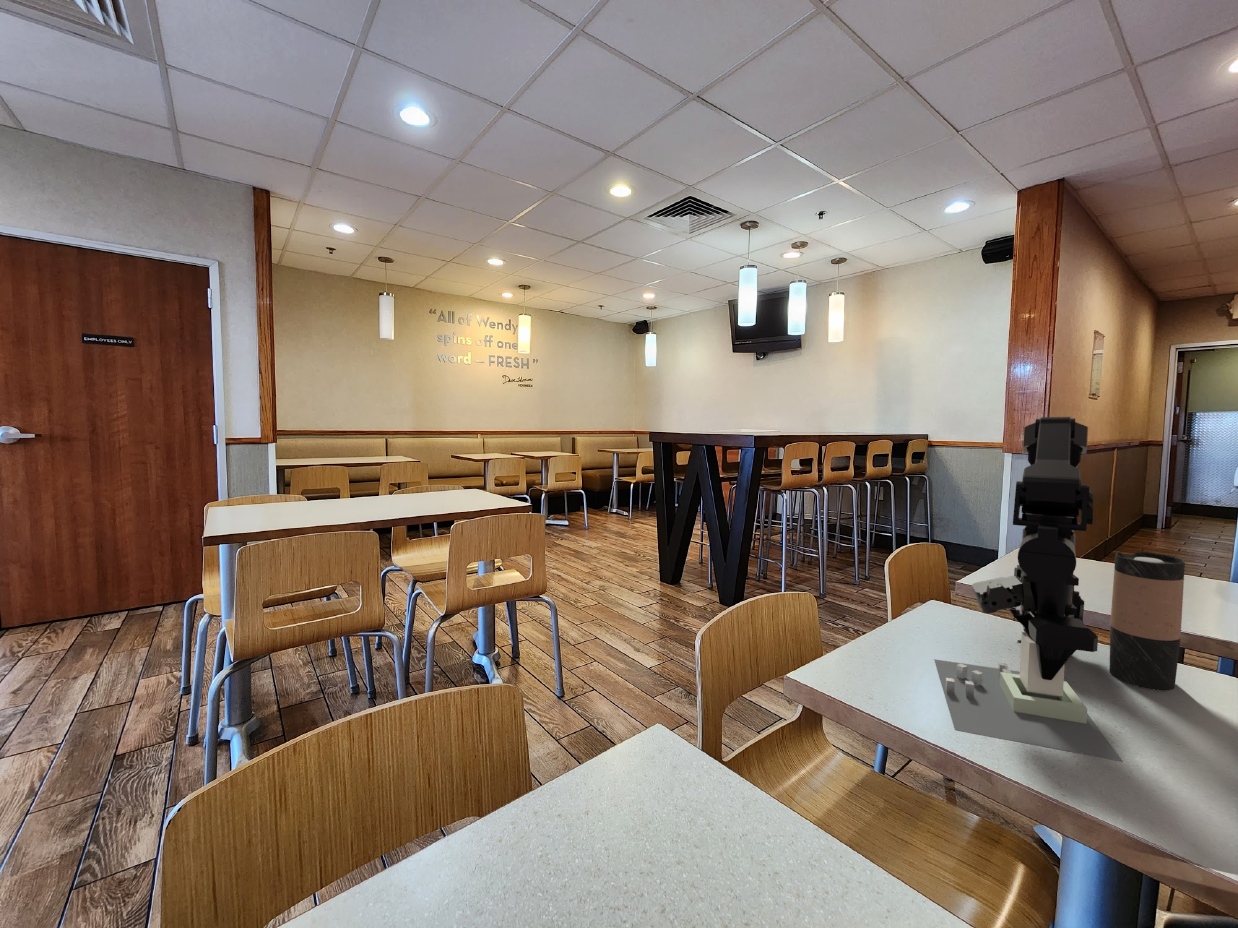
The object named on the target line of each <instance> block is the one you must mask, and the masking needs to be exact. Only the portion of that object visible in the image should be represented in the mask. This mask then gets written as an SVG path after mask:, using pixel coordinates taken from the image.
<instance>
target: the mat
mask: <svg viewBox="0 0 1238 928" xmlns="http://www.w3.org/2000/svg"><path fill="white" fill-rule="evenodd" d="M934 663H935V667H936V671H937V674H938V678H939V680H940V685H941V688H942V690H943V691H942V692H943V694H944V699H945V701H946V704H947V707H948V711H949V714H950V715H949V716H950V718H951V721H952V725H953V728H954V731H957V732H964V733H969V734H975V735H980V736H984V737H989V738H995V739H999V740H1005V741H1011V742H1017V743H1022V744H1027V745H1033V746H1039V747H1043V748H1047V749H1053V750H1060V751H1064V752H1070V753H1074V754H1080V755H1086V756H1092V757H1097V758H1101V759H1107V760H1113V761H1116V762H1117V761H1118V762H1124V760H1123V759H1122V757H1121V756H1120V755H1119V753H1118V752H1117V751H1116V749H1115V748H1114V747H1113V745H1112V744H1111V743H1110V741H1109V740H1108V739H1107V737H1106V736H1105V734H1104V733H1103V732H1102V731H1101V729H1100V728H1099V726H1098V725H1097V724H1096V723H1095V721H1094V720H1093V719H1092V718H1091V716H1090V715H1089V713H1088V712H1087V724H1086V723H1080V722H1074V721H1068V720H1062V719H1056V718H1050V717H1044V716H1038V715H1032V714H1027V713H1021V712H1015V711H1013V710H1012V708H1011V706H1010V704H1009V702H1008V700H1007V698H1006V696H1005V694H1004V692H1003V690H1002V688H1001V686H1000V677H999V675H998V667H992V666H983V665H976V664H970V663H964V662H956V661H955V662H954V661H947V660H943V659H942V660H941V659H935V658H934ZM958 664H964V665H966V666H968V670H967V679H964V680H962V679H960V678H958V677H957V665H958ZM975 670H977V671H980V672H982V673H983V684H982V686H980V687H977V686H975V685H974V698H970V697H966V696H965V694H964V693H965V681H972V671H975ZM1009 670H1010V671H1011V672H1012V674H1018V675H1020V670H1011V669H1009ZM946 678H952V679H954V681H955V694H954V695H951V694H946ZM1020 692H1021V694H1022V695H1026V696H1032V697H1038V698H1045V699H1051V700H1057V701H1061V700H1060V699H1059V697H1055V696H1048V695H1042V694H1035V693H1029V692H1023V691H1020Z"/></svg>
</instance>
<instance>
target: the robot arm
mask: <svg viewBox="0 0 1238 928" xmlns="http://www.w3.org/2000/svg"><path fill="white" fill-rule="evenodd" d="M1088 434H1089V427H1088V426H1086V425H1084V424H1082V423H1079V422H1076V418H1073V417H1071V416H1041V417H1039V418H1036V419H1035V422H1033V423H1030V424H1028V425H1025V426H1024V427H1023V442H1022V449H1023V453H1027V462H1028V463H1029V465H1028V466H1027V467H1024V469H1023V474H1022V479H1021V481H1020V480H1017V481H1016V484H1015V495H1014V504H1013V505H1014V506H1013V515H1012V526H1019V527H1021V526H1022V527H1024V528H1023V529H1022V536H1021V537H1022V538H1021V539H1022V540H1021V543H1020V545H1019V549H1018V552H1017V563H1018V564H1017V565H1016V567H1014V570H1013V571H1014V574H1013V575H1012V576H1011V575H1010V576H1005V577H1003V576H1001V577H997V578H993V579H987V580H982V581H978V582H975V583H972V584H971V586H970V587H971V588H972V591H973V593H974V596H975V598H976V601H977V604H978V606H979V608H980V609H981V611H982V613H984V614H995V613H996V612H997V611H1002V610H1007V609H1008V611H1009V613H1010V614H1011V616H1013V618H1014V619H1015V620H1016V621H1017V622H1019V623H1020V625H1021V626H1022V627H1023V628H1022V630H1023V632H1025V633H1026V634H1027V635H1028V637H1029V638H1030V639H1031V640H1033V641H1034V642H1035V643H1036V648H1037V654H1038V661H1039V667H1040V673H1041V677H1042V679H1045V680H1052V679H1053V678H1054V677H1055V675H1056V674H1057V673H1058V672H1059V670H1060V669H1061V668H1062V666H1063V665H1064V664H1066V663H1067V661H1068V660H1069V659H1070V658H1071V657H1072V656H1073V655H1074V653H1076V651H1080V652H1081V651H1083V652H1090V653H1094V652H1098V643H1099V636H1098V635H1097V634H1096V633H1095V632H1094V631H1093V630H1092V629H1091V628H1089V627H1088V625H1087V624H1085V623H1084V610H1085V600H1084V599H1082V598H1081V597H1082V596H1081V595H1080V591H1078V590H1077V591H1076V590H1075V586H1079V584H1080V583H1079V581H1080V579H1079V577H1077V576H1076V575H1075V574H1074V573H1075V571H1076V567H1077V557H1076V556H1077V555H1076V533H1075V531H1077V532H1087V528H1088V527H1087V525H1093V520H1094V493H1093V492H1092V491H1091V490H1090V486H1088V484H1087V483H1086V484H1085V483H1082V473H1081V472H1082V471H1081V469H1079V468H1077V467H1078V466H1079V465H1080V463H1081V459H1082V458H1081V457H1082V456H1081V455H1082V454H1085V455H1086V454H1087V450H1088V439H1089V438H1088V436H1089V435H1088ZM1020 509H1021V510H1020ZM1020 511H1021V513H1022V515H1021V517H1020ZM1079 517H1080V522H1078V518H1079ZM1014 608H1015V609H1014ZM1017 644H1021V639H1018V640H1017Z"/></svg>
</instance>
